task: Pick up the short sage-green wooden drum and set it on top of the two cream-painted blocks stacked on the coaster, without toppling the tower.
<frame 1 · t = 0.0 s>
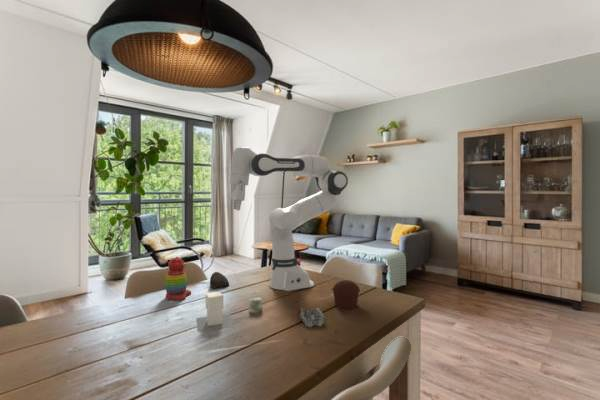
hand: (236, 209, 150), 39 cm above the table, tool pointing down, fingers open, 8 cm apart
tower top: (214, 308, 113), point 6 cm above the table, touching tower bottom
stacking bear: (177, 297, 143), on the table
stone: (218, 286, 158), on the table
muffin: (345, 305, 131), on the table
drum: (255, 312, 124), on the table
coaster: (214, 323, 113), on the table
grey jagged lump: (312, 321, 116), on the table
tower bottom: (214, 322, 113), point 1 cm above the table, touching coaster, tower top
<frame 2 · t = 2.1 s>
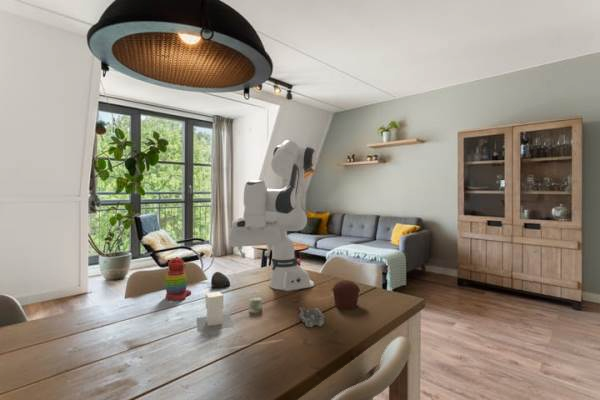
hand: (255, 256, 123), 22 cm above the table, tool pointing down, fingers open, 8 cm apart
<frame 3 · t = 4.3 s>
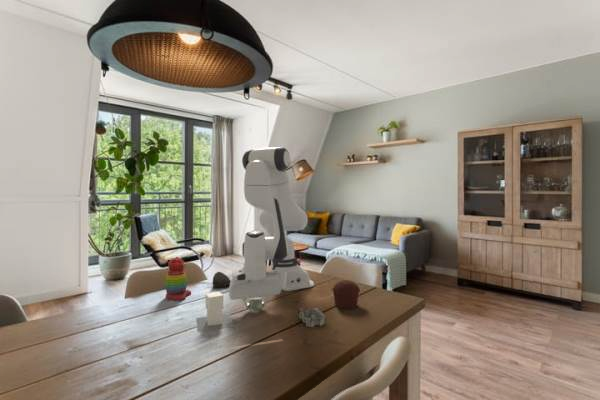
hand: (255, 307, 124), 2 cm above the table, tool pointing down, fingers closed on drum, 5 cm apart
drum: (255, 312, 124), on the table, touching gripper
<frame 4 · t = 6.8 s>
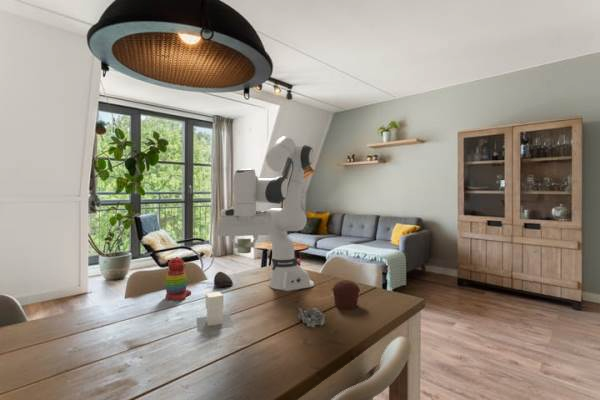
hand: (244, 247, 120), 26 cm above the table, tool pointing down, fingers closed on drum, 5 cm apart
drum: (244, 252, 120), point 24 cm above the table, touching gripper
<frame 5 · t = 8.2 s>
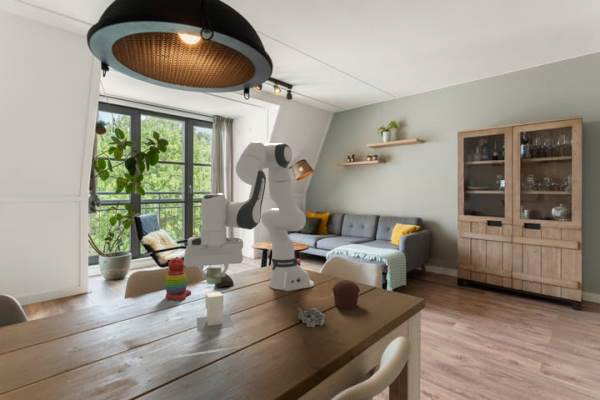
hand: (213, 277, 113), 17 cm above the table, tool pointing down, fingers closed on drum, 5 cm apart
drum: (213, 282, 113), point 15 cm above the table, touching gripper
when the fingers open (13 cm above the table, at t = 9.3 s): drum stays where it is, resting on tower top.
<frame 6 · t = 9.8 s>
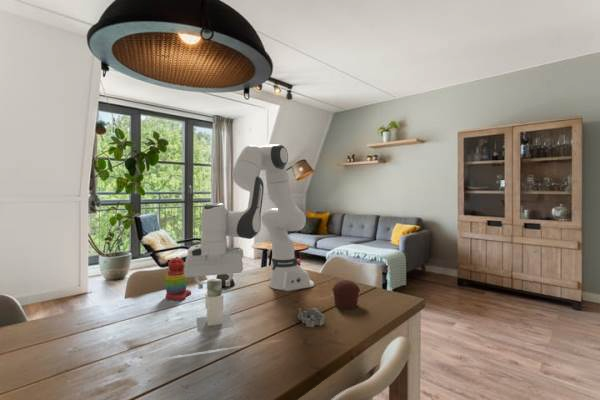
hand: (214, 287, 113), 13 cm above the table, tool pointing down, fingers open, 8 cm apart
tower top: (214, 308, 113), point 6 cm above the table, touching drum, tower bottom
drum: (214, 294, 113), point 11 cm above the table, touching tower top
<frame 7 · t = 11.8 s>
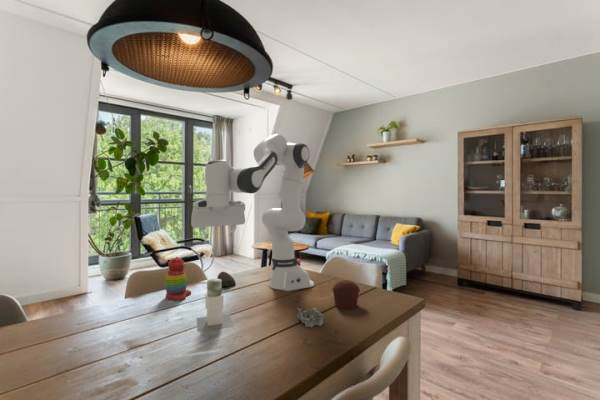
hand: (219, 237, 122), 30 cm above the table, tool pointing down, fingers open, 8 cm apart
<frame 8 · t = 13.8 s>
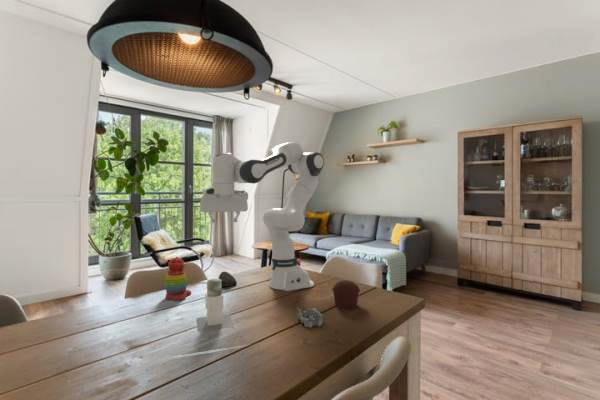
hand: (224, 222, 137), 34 cm above the table, tool pointing down, fingers open, 8 cm apart
at the end: drum 0.1 cm off-centre on the tower bottom, point 10.0 cm above the tower bottom's base; drum tilted 0°; tower top moved 0.1 cm from its start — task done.
